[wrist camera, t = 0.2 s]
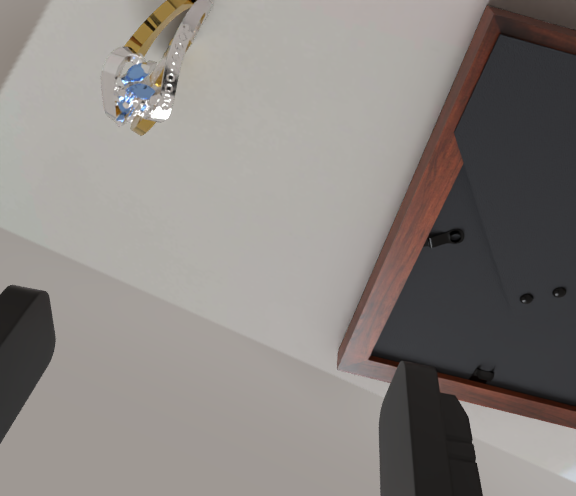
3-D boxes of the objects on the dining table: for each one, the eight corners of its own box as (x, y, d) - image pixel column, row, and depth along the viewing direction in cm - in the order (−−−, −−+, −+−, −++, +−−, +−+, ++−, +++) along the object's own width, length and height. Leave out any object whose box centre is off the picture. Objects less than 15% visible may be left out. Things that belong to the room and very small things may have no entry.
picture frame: (486, 5, 26) (337, 352, 41) (494, 15, 24) (336, 372, 39) (874, 115, 27) (589, 414, 41) (907, 132, 25) (598, 437, 40)
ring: (175, 107, 30) (125, 175, 24) (126, 69, 29) (60, 130, 23) (248, 6, 27) (212, 54, 20) (195, -41, 26) (140, -5, 19)
